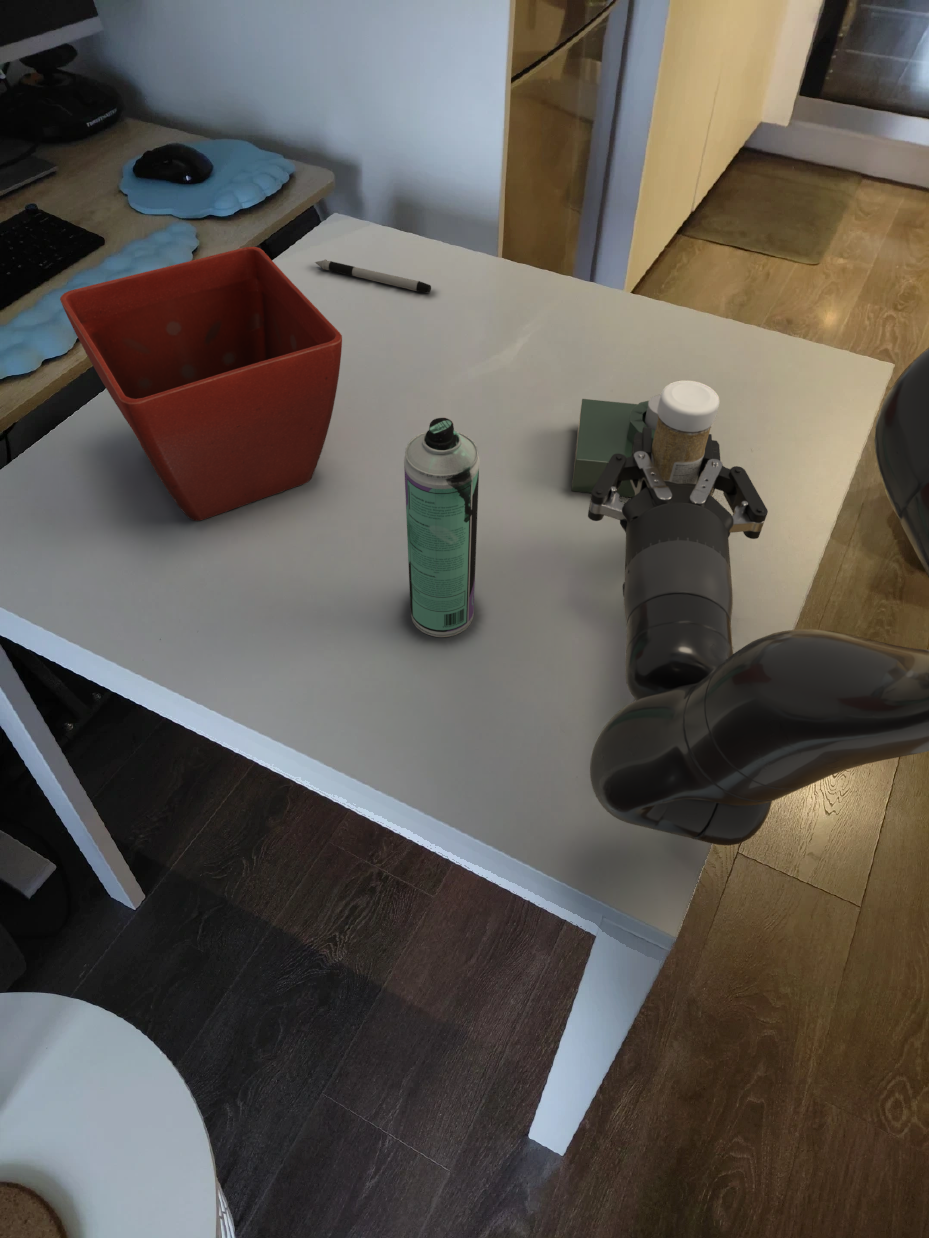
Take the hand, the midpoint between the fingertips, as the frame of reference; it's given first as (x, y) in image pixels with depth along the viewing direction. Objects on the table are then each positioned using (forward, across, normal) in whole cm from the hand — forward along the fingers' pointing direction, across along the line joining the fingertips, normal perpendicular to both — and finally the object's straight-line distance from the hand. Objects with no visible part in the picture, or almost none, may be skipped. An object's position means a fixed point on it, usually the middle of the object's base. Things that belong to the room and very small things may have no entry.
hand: (674, 439), depth 76 cm
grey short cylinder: (+11, 0, +6) cm, 12 cm away
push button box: (+11, +2, +11) cm, 16 cm away
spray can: (-12, +18, +12) cm, 25 cm away
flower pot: (+4, +42, +12) cm, 44 cm away
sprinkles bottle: (-3, 0, +7) cm, 8 cm away
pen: (+43, +36, +11) cm, 57 cm away
